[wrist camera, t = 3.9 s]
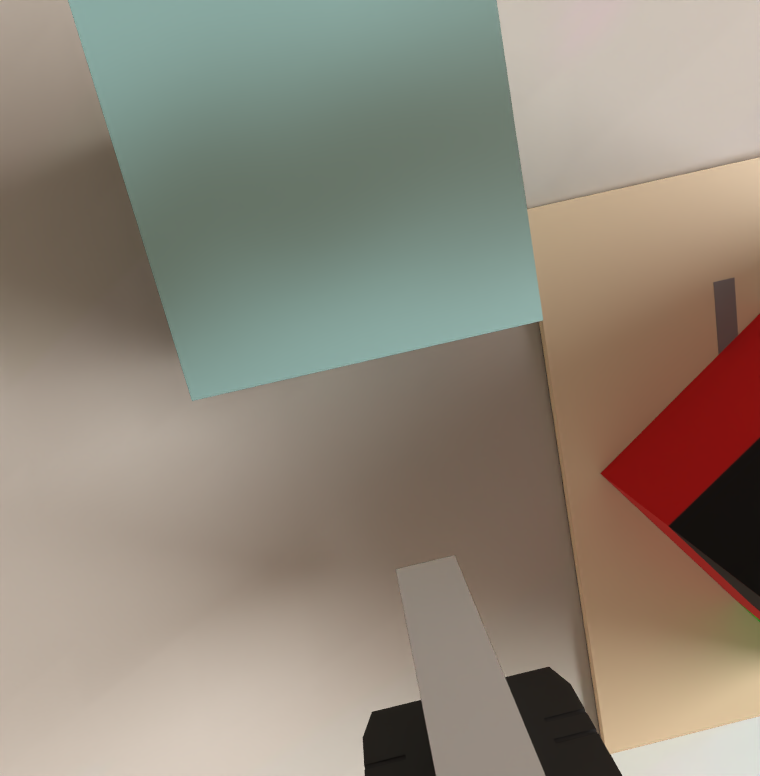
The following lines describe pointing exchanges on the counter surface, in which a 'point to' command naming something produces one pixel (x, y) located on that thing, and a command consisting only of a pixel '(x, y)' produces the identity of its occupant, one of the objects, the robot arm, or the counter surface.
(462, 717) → the robot arm
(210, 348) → the teal block
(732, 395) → the puzzle toy
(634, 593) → the letter card
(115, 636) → the counter surface
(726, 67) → the counter surface
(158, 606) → the counter surface
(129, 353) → the counter surface
